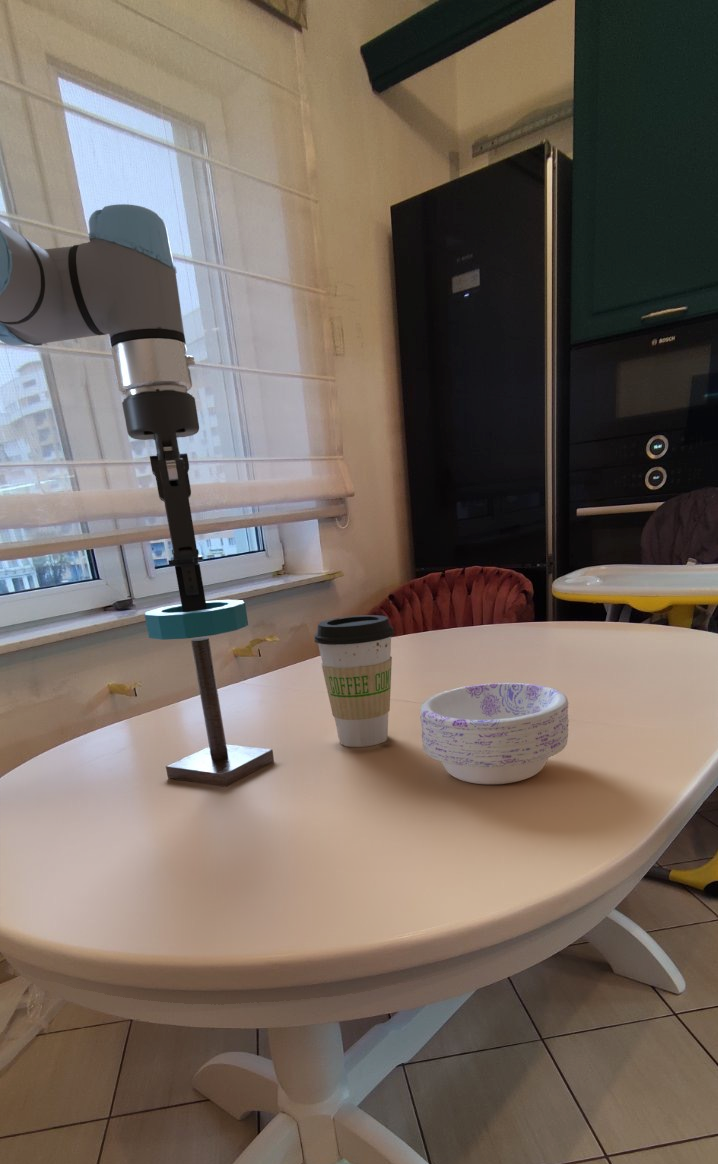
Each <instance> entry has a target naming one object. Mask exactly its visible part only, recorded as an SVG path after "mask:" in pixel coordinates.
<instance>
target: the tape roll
mask: <svg viewBox="0 0 718 1164" xmlns="http://www.w3.org/2000/svg"><path fill="white" fill-rule="evenodd" d="M206 606H207V609H206V610H199V611H190V612H183V609H182V604H181V603H180V604H174V605H167V606H162V607H158V608H153V609H151V610H147V611H145V612H144V620H145V624H146V629H147V634H148V638H149V639H154V640H161V641H162V640H163V641H165V640H166V641H167V640H187V639H196V638H204V637H208V636H209V637H211V636H216V635H221V634H226V633H230V632H235V631H238V630H242V629H243V628H247V627H248V626H249V621H248V616H247V615H248V613H247V607H246V602H245V601H244V600H242V599H216V600H206Z"/></svg>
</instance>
